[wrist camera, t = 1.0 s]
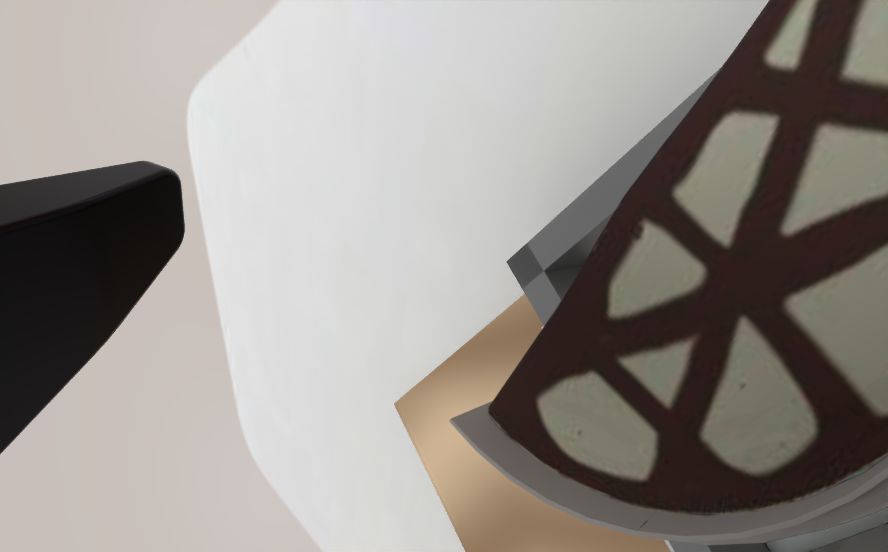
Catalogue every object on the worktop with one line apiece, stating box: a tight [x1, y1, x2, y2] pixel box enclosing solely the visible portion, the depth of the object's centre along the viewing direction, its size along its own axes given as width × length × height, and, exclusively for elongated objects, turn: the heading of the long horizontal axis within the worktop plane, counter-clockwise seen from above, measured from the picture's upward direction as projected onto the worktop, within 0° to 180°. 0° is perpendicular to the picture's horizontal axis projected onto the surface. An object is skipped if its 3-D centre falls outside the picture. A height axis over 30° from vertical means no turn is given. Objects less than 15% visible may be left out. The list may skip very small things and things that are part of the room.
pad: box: [394, 294, 671, 552], centre depth 25 cm, size 15×9×1 cm, turn 39°
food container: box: [449, 0, 888, 545], centre depth 14 cm, size 12×6×10 cm, turn 144°
